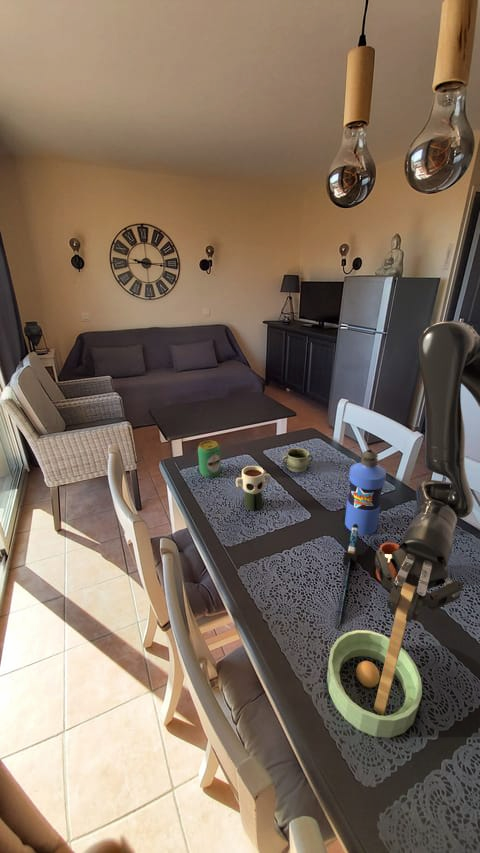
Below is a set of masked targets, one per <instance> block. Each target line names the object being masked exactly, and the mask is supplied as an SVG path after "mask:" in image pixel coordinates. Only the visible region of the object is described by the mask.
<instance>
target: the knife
mask: <svg viewBox="0 0 480 853" xmlns="http://www.w3.org/2000/svg"><path fill="white" fill-rule="evenodd" d="M358 536H359V534H358V525H357V524H354V525H353V527H352V530H351V531H350V538H349V544H348V549H347V551H344V553H343V560H342V565H343V566H346V567H347V570H346V575H345V583H344V589H343V596H342V601H341V608H340V615H339V623H338V624H339V626H340V625H341V621H342V617H343V611H344V610H343V609H344V605H345V604H344V603H345V598H346V593H347V588H348V582H349V577H350V572H351V568H354V569H356V566H357V559H358V555H357V553H356V549H357V543H358V542H357V541H358Z"/></svg>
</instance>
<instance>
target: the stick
mask: <svg viewBox="0 0 480 853" xmlns="http://www.w3.org/2000/svg"><path fill="white" fill-rule="evenodd" d="M416 590H417V587H416V586H414V585H412V584H409V583H404V585H403V587H402V590H401V596H400V600H399V604H398V608H397V610H396V613H395V615H394V620H393V625H392V629H391V634H390V638H389V639H390V642H389V646H388V650H387V654H386V659H385V663H384V664H383V667H382V671H381V676H380V679H379V683H378V689H377V693H376V698H375V701H374V706H373V711H375V712H377V713H378V714H379V715H380V716H385V712H386V711H387V706H388V702H389V698H390V694H391V690H392V686H393V681H394V678H395V670H396V666H397V662H398V658H399V654H400V650H401V648H402V645H403V642H404V638H405V637H404V636H405V633H406V628H407V625H408V622H407V621H406V616H407V612H408V609H409V606H410V603H411V600H412V598H413V595H414V593H415V594H416Z"/></svg>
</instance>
